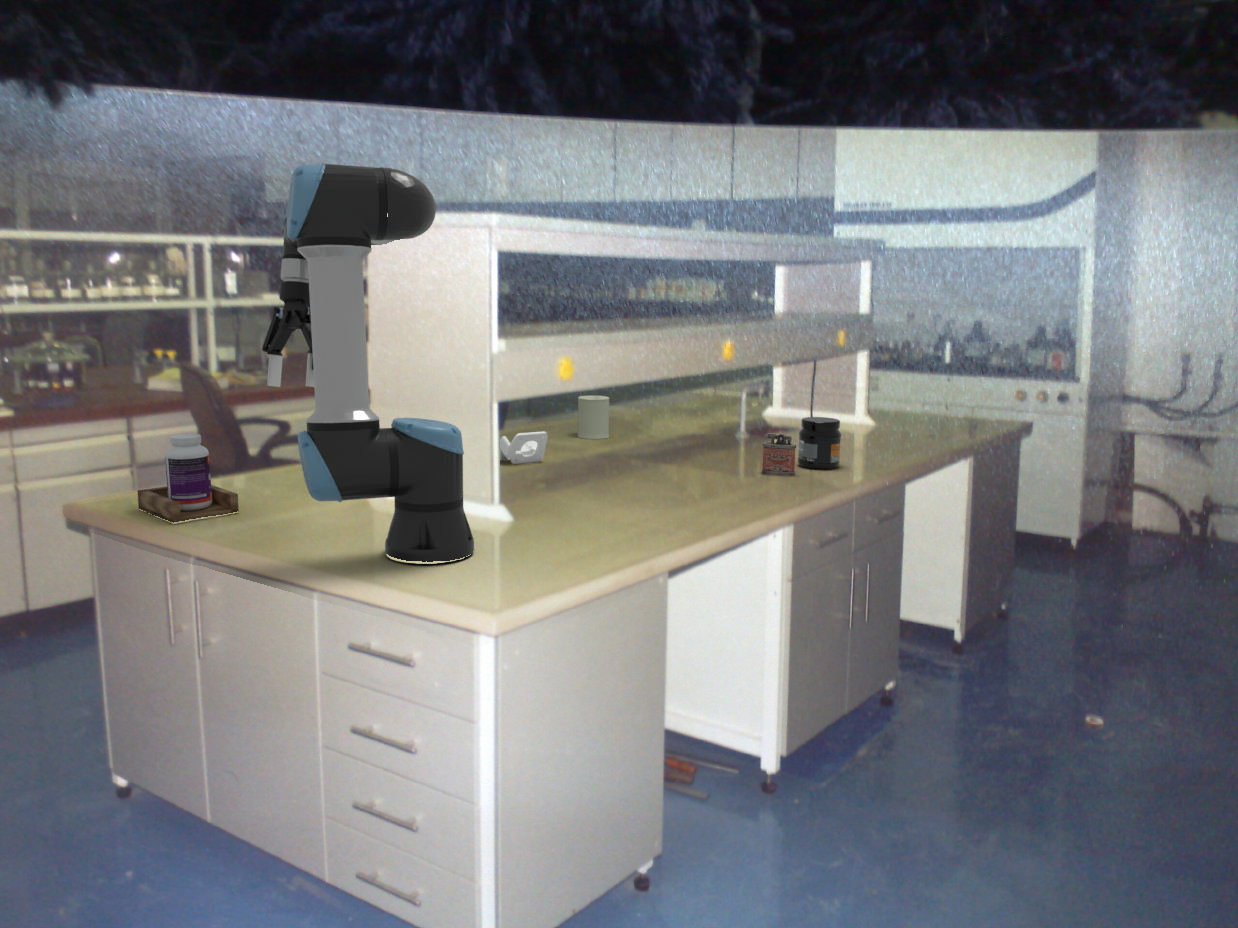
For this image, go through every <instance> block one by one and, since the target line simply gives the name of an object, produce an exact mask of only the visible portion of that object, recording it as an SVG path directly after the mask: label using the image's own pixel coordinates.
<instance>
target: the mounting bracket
mask: <svg viewBox="0 0 1238 928" xmlns="http://www.w3.org/2000/svg"><path fill="white" fill-rule="evenodd" d="M548 437H549V434H548V433H547V432H546V431H543V430H542V431H534V432H533V431H532V432H531V431H530V432H517V433H516V434H515V435H514V437H513V438H512V441H511V442H510V440H508V438H507V436H506V435H503V436H501V438H500V440H499V441H500V450H501V461H500V462H503V461H502V460H504V461H505V460H506V461H510V462H511V464H512V465H514V464H515V465H517V464H526V463H527V464H528V463H529V464H530V463H538V462H539V463H540V462H542V461H543V459H544V456H545V451H546V448H547V447H546V446H547V442H548Z"/></svg>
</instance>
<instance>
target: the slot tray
mask: <svg viewBox="0 0 1238 928" xmlns="http://www.w3.org/2000/svg"><path fill="white" fill-rule="evenodd" d="M211 490H212V504H211V505H210V506H209V507H207V508H204V509H199V510H193V511H180V503H179V502H176V501H174V500H171V499H169V498H168V490H167V485H166V486H161V487H158V486H157V487H153V488H146V489H137V502H138V510H139V509H141V510H143V511H146V512H147V513H150V514H152V515H155V516H158V517H160V518H162V519H165V520H168V521H170V522H173V523H174V522H179V521H185V520H189V519H196V518H201V517H208V516H216V515H223V514H228V513H233V512H237V511H238V512H239V513H240V510H239V495H238V493H236V492H234V491H231V490H227V489H224V488H221V487H219V486H216V485H213V484H211ZM147 513H146V514H147ZM152 515H151V516H152Z"/></svg>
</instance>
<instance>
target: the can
mask: <svg viewBox="0 0 1238 928" xmlns="http://www.w3.org/2000/svg"><path fill="white" fill-rule="evenodd" d="M577 399H578V400H577V403H578V404H577V405H578V407H577V409H578V413H577V414H578V415H577V417H578V418H577V423H578V424H577V425H578V426H577V430H578V431H577V438H580V439H583V440H604V439H609V438H610V434H609V433H610V432H609V430H610V428H609V426H610V425H609V422H610V421H609V420H610V414H609V413H610V396H605V395H581V396H578V397H577Z"/></svg>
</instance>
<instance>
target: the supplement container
mask: <svg viewBox="0 0 1238 928" xmlns="http://www.w3.org/2000/svg"><path fill="white" fill-rule="evenodd" d="M800 423H801V425H800V426H801V429H800V430H799V432H798V450H797V451H798V453H797V454H798V457H797V463H798V465H799V466H800V467H802V468H805V469H808V470H809V469H810V470H820V471H822V470H823V471H824V470H835V469H836V468H838V467H839V465H840V459H841V458H840V455H841V440H842V439H841V438H842V433H841V431H840V430H839V429H840V428H841V421H840V419H837V418H834V417H825V416H813V417H812V416H810V417H809V416H808V417H803V418H801V422H800Z"/></svg>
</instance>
